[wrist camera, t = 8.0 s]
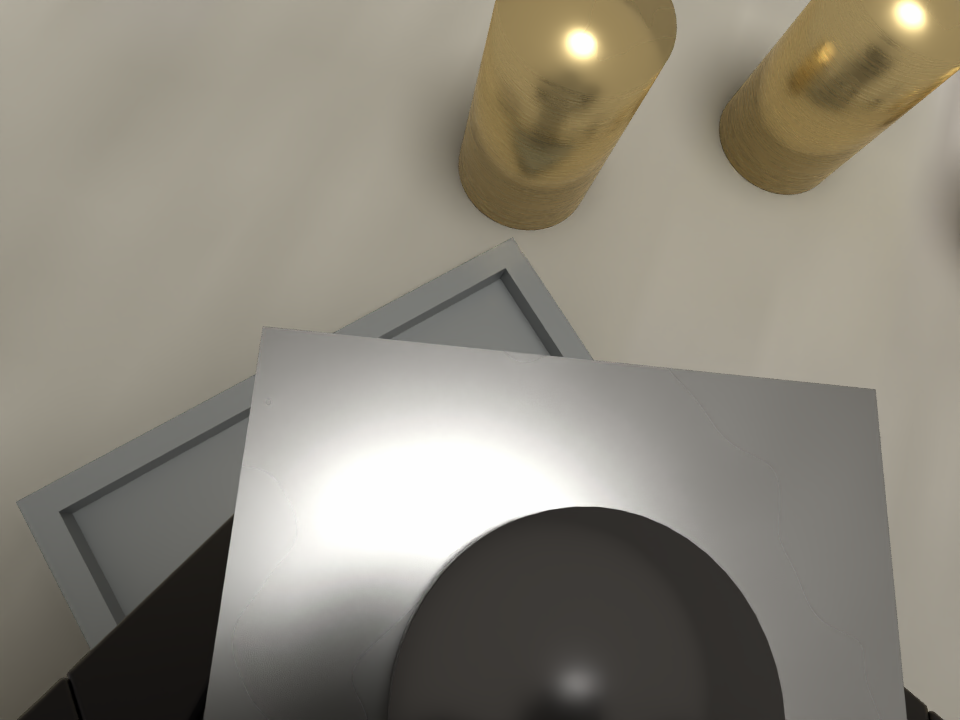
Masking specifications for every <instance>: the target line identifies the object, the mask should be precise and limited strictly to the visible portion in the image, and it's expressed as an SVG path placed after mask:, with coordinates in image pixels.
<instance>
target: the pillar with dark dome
mask: <svg viewBox="0 0 960 720" xmlns="http://www.w3.org/2000/svg"><path fill="white" fill-rule="evenodd" d="M203 720H907V715H906V705H905V694H904V684H903V673H902V663H901V652H900V642H899V631H898V621H897V610H896V600H895V589H894V579H893V568H892V558H891V547H890V537H889V526H888V516H887V505H886V495H885V484H884V474H883V463H882V453H881V442H880V432H879V421H878V411H877V400H876V390H875V389H867V388H858V387H848V386H838V385H829V384H819V383H809V382H799V381H790V380H780V379H770V378H760V377H751V376H741V375H731V374H721V373H712V372H702V371H692V370H682V369H673V368H663V367H653V366H643V365H634V364H624V363H614V362H605V361H595V360H585V359H575V358H566V357H556V356H546V355H536V354H527V353H517V352H507V351H497V350H488V349H478V348H468V347H458V346H449V345H439V344H429V343H420V342H410V341H400V340H390V339H381V338H371V337H361V336H351V335H342V334H332V333H322V332H312V331H303V330H293V329H283V328H273V327H264V326H263V330H262V336H261V343H260V349H259V356H258V363H257V369H256V376H255V382H254V389H253V396H252V402H251V409H250V415H249V422H248V429H247V435H246V442H245V448H244V455H243V461H242V468H241V475H240V481H239V488H238V494H237V501H236V508H235V514H234V521H233V527H232V534H231V541H230V547H229V554H228V560H227V567H226V574H225V580H224V587H223V593H222V600H221V606H220V613H219V620H218V626H217V633H216V639H215V646H214V653H213V659H212V666H211V672H210V679H209V686H208V692H207V699H206V705H205V712H204V719H203Z"/></svg>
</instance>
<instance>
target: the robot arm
mask: <svg viewBox="0 0 960 720" xmlns="http://www.w3.org/2000/svg"><path fill="white" fill-rule="evenodd" d="M234 514H235V513H234ZM234 514H233V515H232V516H231V517H230V518H229V519H228V520H227V521H226V522H225V523H224V524H223V525H222V526H221V527H219V528H218V529H217V530H216V531H215V532H214V533H213V534H212V535H211V536H210V537H209V538H208V539H207V540H206V541H205V542H204V543H203V544H202V545H201V546H200V547H199V548H197V549H196V550H195V551H194V552H193V553H192V554H191V555H190V556H189V557H188V558H187V559H186V560H185V561H184V562H183V563H182V564H181V565H180V566H179V567H178V568H177V569H175V570H174V571H173V572H172V573H171V574H170V575H169V576H168V577H167V578H166V579H165V580H164V581H163V582H162V583H161V584H160V585H159V586H158V587H157V588H156V589H155V590H153V591H152V592H151V593H150V594H149V595H148V596H147V597H146V598H145V599H144V600H143V601H142V602H141V603H140V604H139V605H138V606H137V607H136V608H135V609H134V610H133V611H131V612H130V613H129V614H128V615H127V616H126V617H125V618H124V619H123V620H122V621H121V622H120V623H119V624H118V625H117V626H116V627H115V628H114V629H113V630H112V631H111V632H109V633H108V634H107V635H106V636H105V637H104V638H103V639H102V640H101V641H100V642H99V643H98V644H97V645H96V646H95V647H94V648H93V649H92V650H91V651H90V652H89V653H87V654H86V655H85V656H84V657H83V658H82V659H81V660H80V661H79V662H78V663H77V664H76V665H75V666H74V667H73V668H72V669H71V670H70V671H69V672H68V674H67V678H68V679H67V678H61V679H60V680H59V681H58V682H57V683H55V684H54V685H53V686H52V687H51V688H50V689H49V690H48V691H47V692H46V693H45V694H44V695H43V696H42V697H41V698H40V699H39V700H38V701H37V702H36V703H35V704H34V705H32V706H31V707H30V708H29V709H28V710H27V711H26V712H25V713H24V714H23V715H22V716H20V717H19V718H18V719H17V720H203V719H204V712H205V705H206V699H207V692H208V686H209V679H210V672H211V666H212V659H213V653H214V646H215V639H216V633H217V626H218V620H219V613H220V606H221V600H222V593H223V587H224V580H225V574H226V567H227V560H228V554H229V547H230V541H231V534H232V527H233V521H234ZM904 694H905V705H906V715H907V720H943V719H942V718H941V717H940V716H938V715H937V714H936V713H935V712H933V711H929V712H928V709H927V706H926V705H925V704H924V703H923V702H922V701H920V700H919V699H918V698H917V697H916V696H914V695H913V694H912V693H911V692H910V691H908V690H907V689H906V688H905V687H904Z"/></svg>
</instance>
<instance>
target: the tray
mask: <svg viewBox="0 0 960 720" xmlns="http://www.w3.org/2000/svg"><path fill="white" fill-rule="evenodd" d="M332 334H342V335H351V336H361V337H371V338H381V339H390V340H400V341H410V342H420V343H429V344H439V345H449V346H458V347H468V348H478V349H488V350H497V351H507V352H517V353H527V354H536V355H546V356H556V357H566V358H575V359H585V360H593V358H592V357H591V355H590V354H589V352H588V351H587V349H586V348H585V346H584V345H583V343H582V342H581V340H580V339H579V337H578V336H577V334H576V333H575V331H574V329H573V328H572V326H571V325H570V323H569V322H568V320H567V319H566V317H565V316H564V314H563V313H562V311H561V310H560V308H559V307H558V305H557V304H556V302H555V301H554V299H553V298H552V296H551V295H550V293H549V292H548V290H547V289H546V287H545V286H544V284H543V283H542V281H541V280H540V278H539V276H538V275H537V273H536V272H535V270H534V269H533V267H532V266H531V264H530V263H529V261H528V260H527V258H526V257H525V255H524V254H523V252H522V251H521V249H520V248H519V246H518V245H517V243H516V242H515V240H514V239H513V237H512V238H510V239H509V240H507V241H505V242H503V243H501V244H499V245H497V246H495V247H494V248H492V249H490V250H488V251H486V252H484V253H482V254H480V255H479V256H477V257H475V258H473V259H471V260H469V261H467V262H465V263H464V264H462V265H460V266H458V267H456V268H454V269H452V270H450V271H449V272H447V273H445V274H443V275H441V276H439V277H437V278H435V279H434V280H432V281H430V282H428V283H426V284H424V285H422V286H420V287H419V288H417V289H415V290H413V291H411V292H409V293H407V294H405V295H404V296H402V297H400V298H398V299H396V300H394V301H392V302H390V303H388V304H387V305H385V306H383V307H381V308H379V309H377V310H375V311H373V312H372V313H370V314H368V315H366V316H364V317H362V318H360V319H358V320H357V321H355V322H353V323H351V324H349V325H347V326H345V327H343V328H342V329H340V330H338V331H336V332H334V333H332ZM255 376H256V374H255V375H253V376H251V377H250V378H248V379H246V380H244V381H242V382H240V383H238V384H236V385H235V386H233V387H231V388H229V389H227V390H225V391H223V392H221V393H220V394H218V395H216V396H214V397H212V398H210V399H208V400H206V401H205V402H203V403H201V404H199V405H197V406H195V407H193V408H191V409H190V410H188V411H186V412H184V413H182V414H180V415H178V416H176V417H175V418H173V419H171V420H169V421H167V422H165V423H163V424H161V425H160V426H158V427H156V428H154V429H152V430H150V431H148V432H146V433H144V434H143V435H141V436H139V437H137V438H135V439H133V440H131V441H129V442H128V443H126V444H124V445H122V446H120V447H118V448H116V449H114V450H113V451H111V452H109V453H107V454H105V455H103V456H101V457H99V458H98V459H96V460H94V461H92V462H90V463H88V464H86V465H84V466H83V467H81V468H79V469H77V470H75V471H73V472H71V473H69V474H68V475H66V476H64V477H62V478H60V479H58V480H56V481H54V482H53V483H51V484H49V485H47V486H45V487H43V488H41V489H39V490H38V491H36V492H34V493H32V494H30V495H28V496H26V497H24V498H22V499H21V500H19V501H17V502H16V503H17V505H18V507H19V509H20V511H21V513H22V515H23V517H24V519H25V521H26V523H27V525H28V527H29V529H30V531H31V533H32V535H33V537H34V538H35V540H36V542H37V544H38V546H39V548H40V550H41V552H42V554H43V556H44V558H45V560H46V562H47V564H48V566H49V568H50V570H51V572H52V574H53V576H54V578H55V580H56V582H57V584H58V586H59V588H60V590H61V592H62V594H63V596H64V598H65V600H66V602H67V604H68V606H69V608H70V610H71V612H72V614H73V616H74V618H75V619H76V621H77V623H78V625H79V627H80V629H81V631H82V633H83V635H84V637H85V639H86V641H87V643H88V645H89V647H90V649H91V650H92V649H93V648H94V647H95V646H96V645H97V644H98V643H99V642H100V641H101V640H102V639H103V638H104V637H105V636H106V635H107V634H108V633H109V632H111V631H112V630H113V629H114V628H115V627H116V626H117V625H118V624H119V623H120V622H121V621H122V620H123V619H124V618H125V617H126V616H127V615H128V614H129V613H130V612H131V611H133V610H134V609H135V608H136V607H137V606H138V605H139V604H140V603H141V602H142V601H143V600H144V599H145V598H146V597H147V596H148V595H149V594H150V593H151V592H152V591H153V590H155V589H156V588H157V587H158V586H159V585H160V584H161V583H162V582H163V581H164V580H165V579H166V578H167V577H168V576H169V575H170V574H171V573H172V572H173V571H174V570H175V569H177V568H178V567H179V566H180V565H181V564H182V563H183V562H184V561H185V560H186V559H187V558H188V557H189V556H190V555H191V554H192V553H193V552H194V551H195V550H196V549H197V548H199V547H200V546H201V545H202V544H203V543H204V542H205V541H206V540H207V539H208V538H209V537H210V536H211V535H212V534H213V533H214V532H215V531H216V530H217V529H218V528H219V527H221V526H222V525H223V524H224V523H225V522H226V521H227V520H228V519H229V518H230V517H231V516H232V515H233V514H234V513H235V508H236V501H237V494H238V488H239V481H240V475H241V468H242V461H243V455H244V448H245V442H246V435H247V429H248V422H249V415H250V409H251V402H252V396H253V389H254V382H255Z"/></svg>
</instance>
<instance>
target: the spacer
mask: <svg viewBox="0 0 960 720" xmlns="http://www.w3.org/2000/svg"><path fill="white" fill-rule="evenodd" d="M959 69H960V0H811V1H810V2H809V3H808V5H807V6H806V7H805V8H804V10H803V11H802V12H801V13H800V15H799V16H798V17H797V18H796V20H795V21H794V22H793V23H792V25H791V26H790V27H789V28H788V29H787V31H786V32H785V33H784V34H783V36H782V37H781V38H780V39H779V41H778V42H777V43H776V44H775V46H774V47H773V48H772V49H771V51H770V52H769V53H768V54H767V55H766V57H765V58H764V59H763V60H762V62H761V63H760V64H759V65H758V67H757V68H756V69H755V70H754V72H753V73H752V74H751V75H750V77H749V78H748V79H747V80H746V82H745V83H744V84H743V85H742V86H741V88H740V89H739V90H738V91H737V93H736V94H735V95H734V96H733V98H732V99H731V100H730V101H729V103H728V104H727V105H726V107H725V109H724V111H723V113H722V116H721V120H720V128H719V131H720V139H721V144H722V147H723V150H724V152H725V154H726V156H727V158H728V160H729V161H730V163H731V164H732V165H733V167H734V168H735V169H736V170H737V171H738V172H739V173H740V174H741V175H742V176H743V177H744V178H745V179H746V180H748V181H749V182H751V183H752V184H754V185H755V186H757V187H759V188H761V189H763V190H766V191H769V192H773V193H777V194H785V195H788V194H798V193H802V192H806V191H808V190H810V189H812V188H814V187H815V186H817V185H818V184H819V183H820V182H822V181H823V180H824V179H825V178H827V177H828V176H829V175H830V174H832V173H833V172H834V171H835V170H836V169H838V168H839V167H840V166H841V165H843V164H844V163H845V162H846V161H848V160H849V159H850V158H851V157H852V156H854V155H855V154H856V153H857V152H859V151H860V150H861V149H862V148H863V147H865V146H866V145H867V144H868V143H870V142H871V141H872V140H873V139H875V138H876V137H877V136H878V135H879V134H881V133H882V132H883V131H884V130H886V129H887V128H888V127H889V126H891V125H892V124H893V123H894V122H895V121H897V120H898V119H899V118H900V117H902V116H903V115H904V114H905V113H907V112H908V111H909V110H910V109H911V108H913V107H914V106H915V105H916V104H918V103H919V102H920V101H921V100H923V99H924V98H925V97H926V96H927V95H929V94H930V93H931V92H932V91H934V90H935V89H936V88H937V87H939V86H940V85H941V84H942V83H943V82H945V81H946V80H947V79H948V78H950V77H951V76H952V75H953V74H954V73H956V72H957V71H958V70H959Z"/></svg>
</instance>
